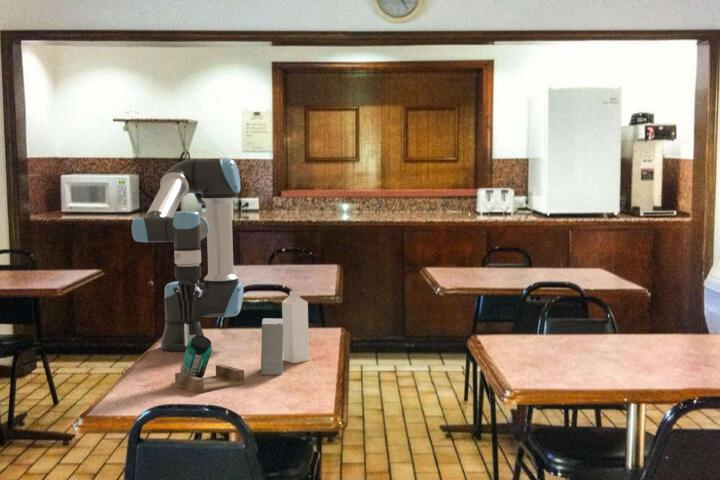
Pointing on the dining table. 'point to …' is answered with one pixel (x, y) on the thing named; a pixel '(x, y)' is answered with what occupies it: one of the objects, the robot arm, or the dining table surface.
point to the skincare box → (272, 346)
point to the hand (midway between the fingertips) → (190, 345)
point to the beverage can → (196, 356)
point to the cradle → (210, 380)
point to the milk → (295, 329)
